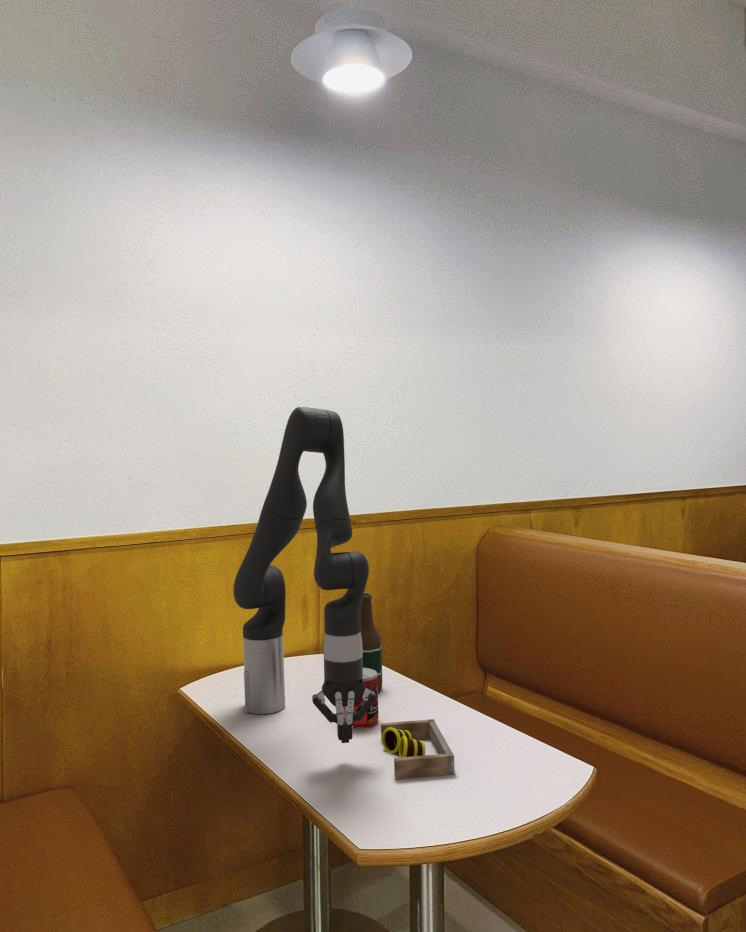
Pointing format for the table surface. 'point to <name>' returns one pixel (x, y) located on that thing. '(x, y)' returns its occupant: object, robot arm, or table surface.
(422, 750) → the opera glasses
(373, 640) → the beer bottle
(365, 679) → the canned food
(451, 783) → the table surface
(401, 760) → the walnut bay
